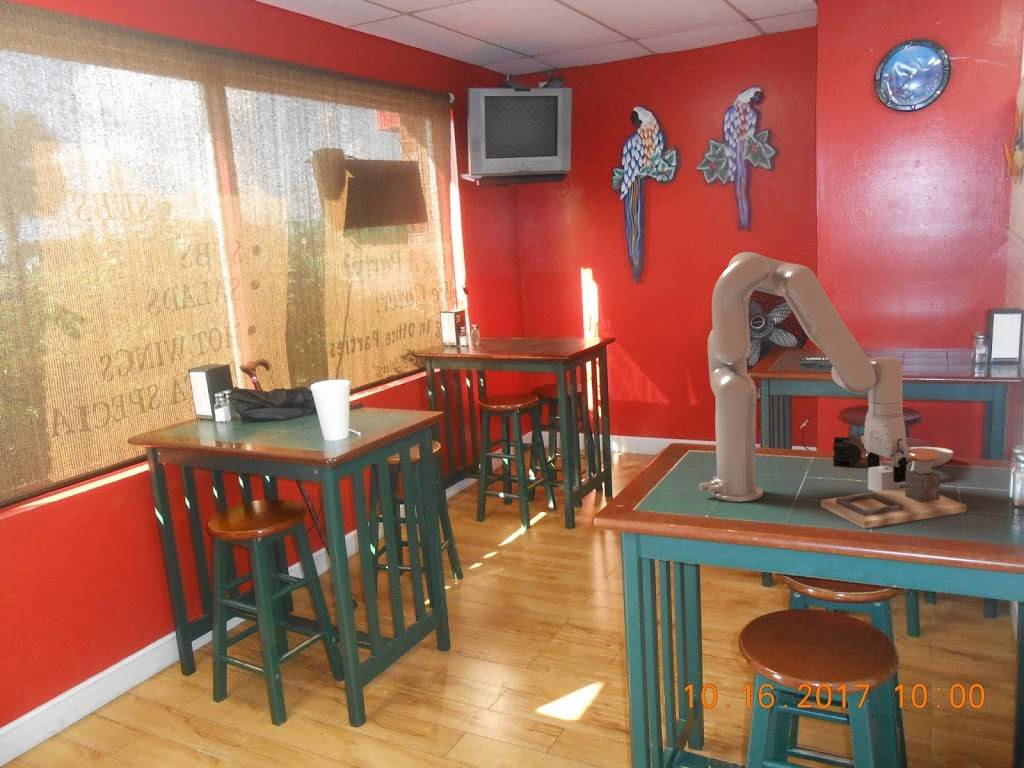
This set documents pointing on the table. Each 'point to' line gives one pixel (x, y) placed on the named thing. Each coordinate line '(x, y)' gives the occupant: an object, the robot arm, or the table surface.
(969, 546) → the table surface
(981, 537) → the table surface
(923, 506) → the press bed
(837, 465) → the end cap
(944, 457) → the spoon rest
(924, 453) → the disc
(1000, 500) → the table surface
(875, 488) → the block
